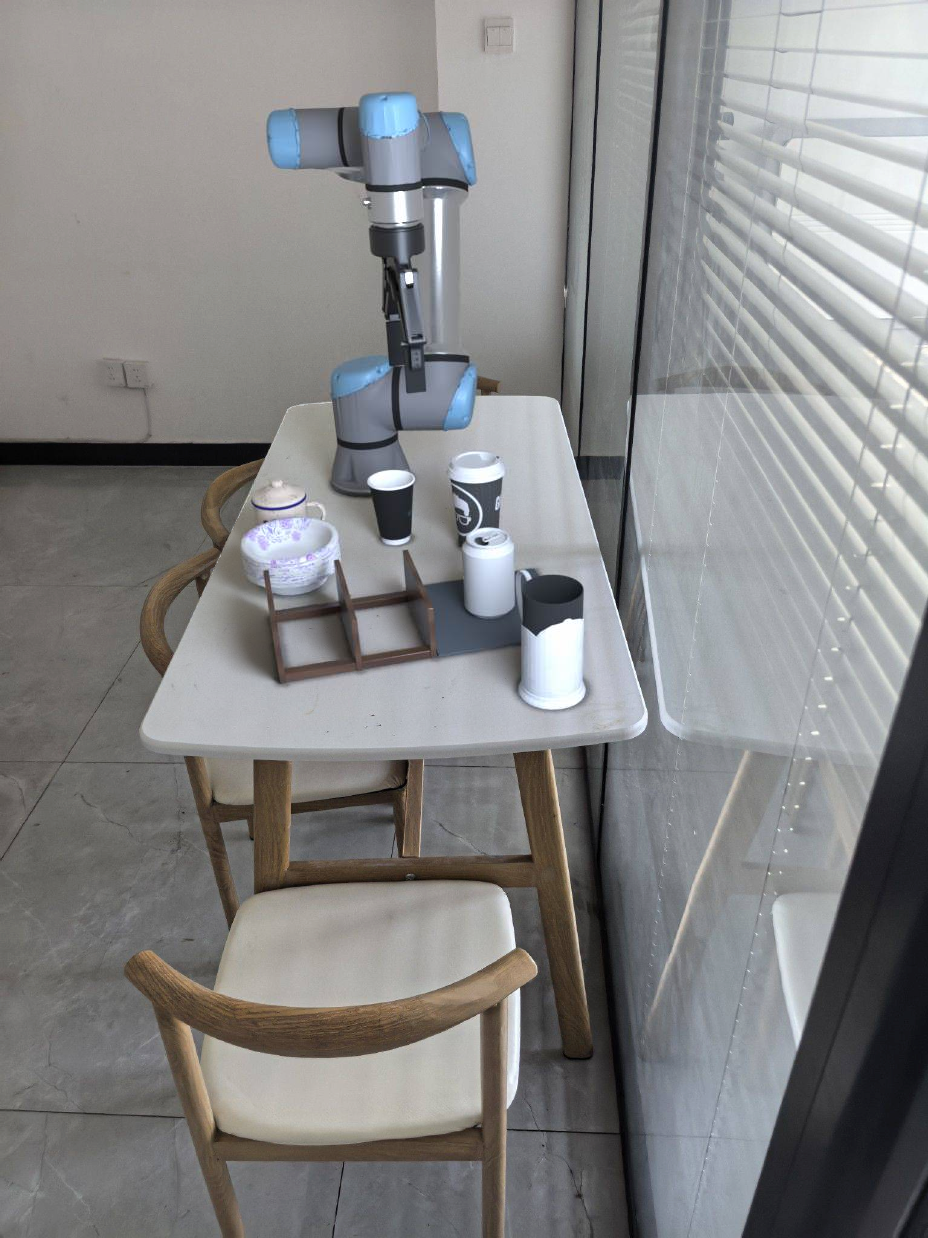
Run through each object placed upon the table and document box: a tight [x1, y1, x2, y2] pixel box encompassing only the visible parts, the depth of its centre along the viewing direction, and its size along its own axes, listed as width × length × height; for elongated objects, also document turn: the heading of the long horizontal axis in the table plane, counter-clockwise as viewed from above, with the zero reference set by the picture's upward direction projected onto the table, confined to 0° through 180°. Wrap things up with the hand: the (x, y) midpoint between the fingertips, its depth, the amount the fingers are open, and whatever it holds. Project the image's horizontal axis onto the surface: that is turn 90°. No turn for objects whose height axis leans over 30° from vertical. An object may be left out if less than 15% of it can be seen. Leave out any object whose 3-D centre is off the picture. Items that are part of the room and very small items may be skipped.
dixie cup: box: [367, 470, 416, 546], centre depth 162 cm, size 8×8×11 cm
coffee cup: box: [446, 449, 507, 549], centre depth 158 cm, size 10×10×15 cm
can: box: [461, 528, 516, 619], centre depth 140 cm, size 8×8×12 cm
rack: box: [263, 549, 438, 684], centre depth 136 cm, size 18×21×8 cm
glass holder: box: [516, 569, 587, 711], centre depth 124 cm, size 9×14×15 cm, turn 24°
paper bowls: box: [239, 516, 342, 596], centre depth 151 cm, size 15×15×8 cm
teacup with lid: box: [250, 477, 327, 526], centre depth 162 cm, size 12×9×12 cm
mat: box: [423, 567, 540, 658], centre depth 143 cm, size 20×20×1 cm
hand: (406, 378), depth 141 cm, fingers open, 13 cm apart
